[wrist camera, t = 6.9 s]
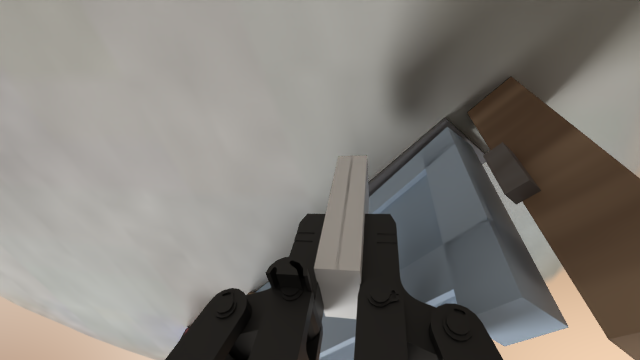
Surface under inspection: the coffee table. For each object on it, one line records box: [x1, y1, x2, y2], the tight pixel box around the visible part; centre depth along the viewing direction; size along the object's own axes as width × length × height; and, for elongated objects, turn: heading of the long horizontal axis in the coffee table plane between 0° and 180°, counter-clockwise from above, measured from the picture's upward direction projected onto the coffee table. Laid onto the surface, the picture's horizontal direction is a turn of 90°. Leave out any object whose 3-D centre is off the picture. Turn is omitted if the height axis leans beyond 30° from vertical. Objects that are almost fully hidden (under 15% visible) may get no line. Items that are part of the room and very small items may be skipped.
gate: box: [319, 127, 568, 360], centre depth 15 cm, size 14×2×10 cm, turn 147°
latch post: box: [467, 77, 640, 360], centre depth 10 cm, size 3×3×12 cm
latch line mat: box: [368, 118, 486, 197], centre depth 20 cm, size 4×15×1 cm, turn 144°
